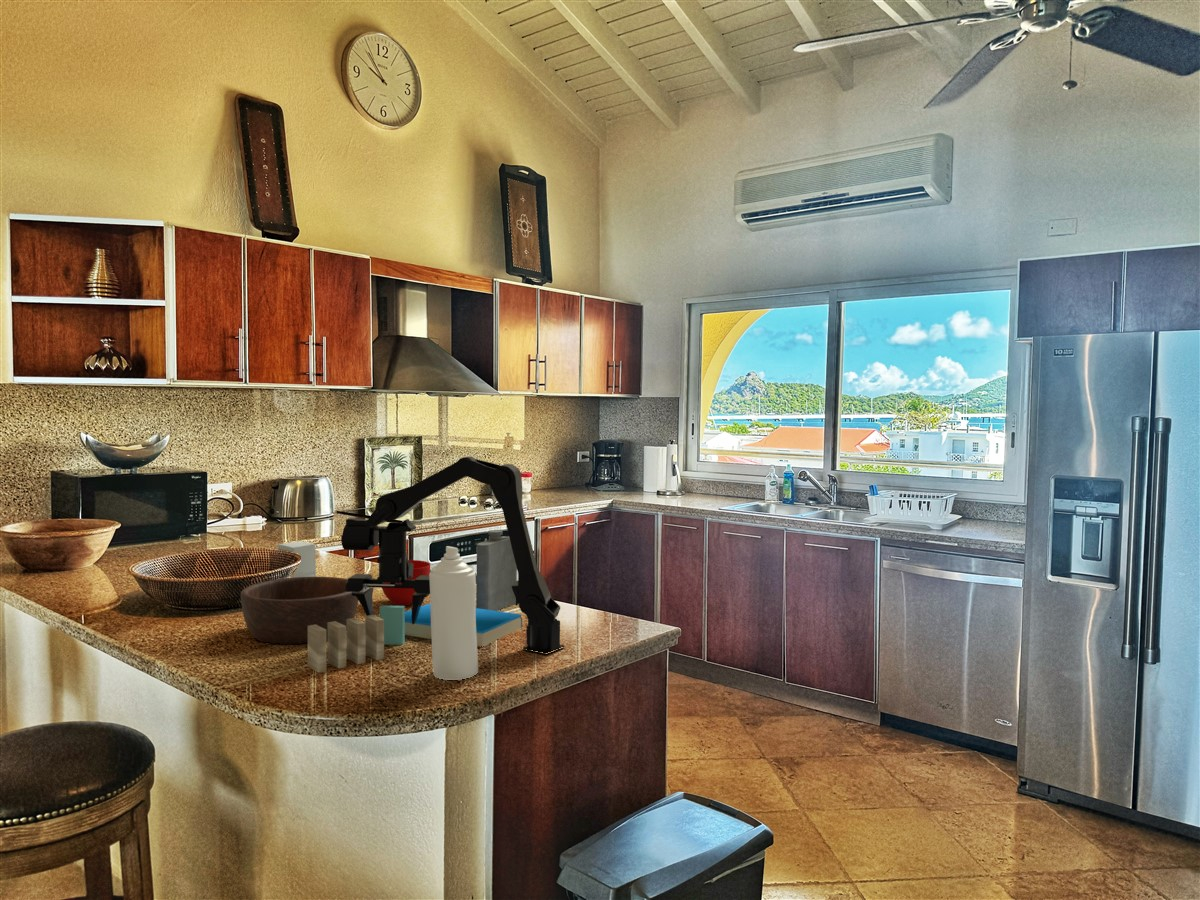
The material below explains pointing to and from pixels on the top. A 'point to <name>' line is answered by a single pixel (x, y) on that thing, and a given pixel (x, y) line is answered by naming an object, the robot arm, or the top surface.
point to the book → (487, 624)
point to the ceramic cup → (405, 594)
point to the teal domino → (393, 624)
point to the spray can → (453, 617)
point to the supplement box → (302, 557)
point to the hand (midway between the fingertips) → (392, 623)
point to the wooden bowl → (296, 607)
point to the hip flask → (495, 573)
